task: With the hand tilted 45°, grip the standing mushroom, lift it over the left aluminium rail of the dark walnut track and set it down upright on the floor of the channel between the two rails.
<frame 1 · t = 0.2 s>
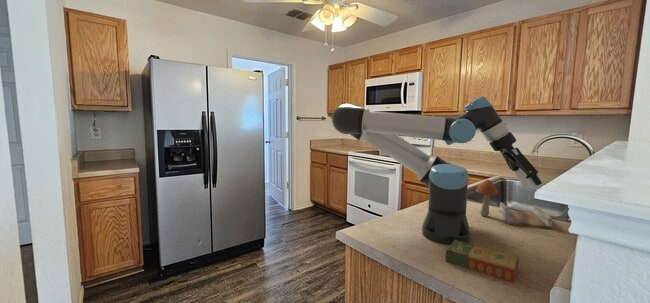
hand: (535, 189, 96), 15 cm above the worktop, tool tilted 35°, fingers open, 13 cm apart
track: (523, 219, 110), on the worktop
carton: (480, 267, 76), on the worktop
mushroom: (485, 216, 115), on the worktop
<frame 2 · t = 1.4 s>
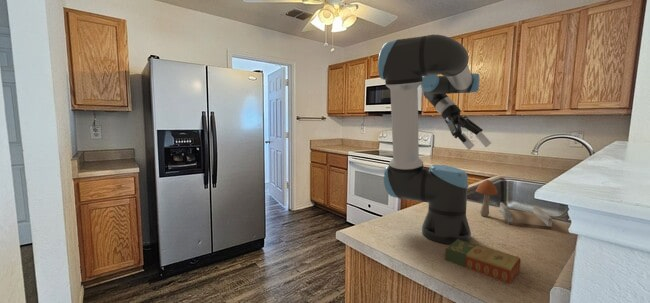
hand: (480, 146, 115), 28 cm above the worktop, tool tilted 45°, fingers open, 13 cm apart
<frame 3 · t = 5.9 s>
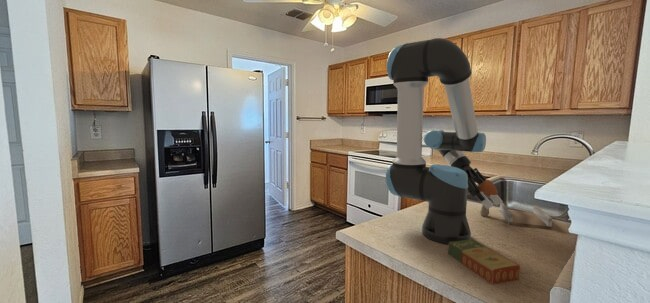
hand: (495, 205, 111), 5 cm above the worktop, tool tilted 45°, fingers closed on mushroom, 8 cm apart
mushroom: (485, 216, 115), on the worktop, touching gripper
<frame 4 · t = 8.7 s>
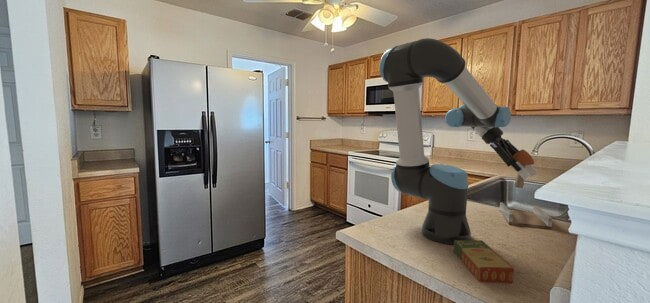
hand: (531, 175, 107), 18 cm above the worktop, tool tilted 45°, fingers closed on mushroom, 8 cm apart
mushroom: (519, 187, 110), point 12 cm above the worktop, touching gripper
when the fingers open (8 cm above the worktop, at t = 11.7 s): mushroom drops 1 cm, resting on track.
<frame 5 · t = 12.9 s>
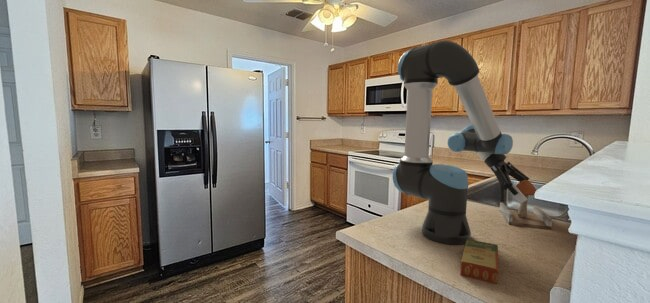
hand: (530, 198, 108), 9 cm above the worktop, tool tilted 45°, fingers open, 13 cm apart
mushroom: (522, 217, 110), point 1 cm above the worktop, touching track
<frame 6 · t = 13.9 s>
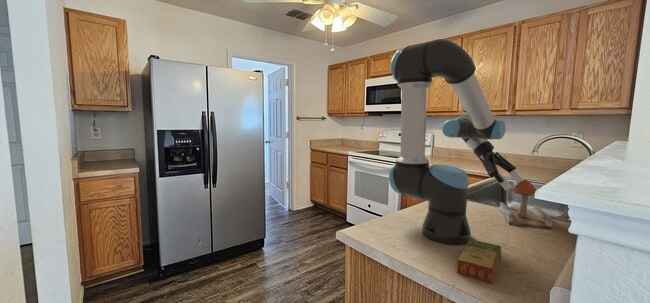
hand: (516, 186, 112), 12 cm above the worktop, tool tilted 45°, fingers open, 13 cm apart
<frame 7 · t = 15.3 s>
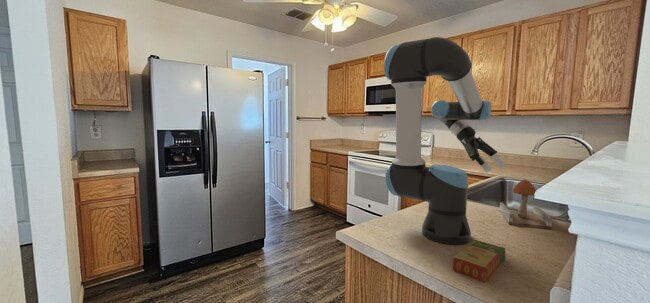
hand: (496, 168, 116), 19 cm above the worktop, tool tilted 45°, fingers open, 13 cm apart
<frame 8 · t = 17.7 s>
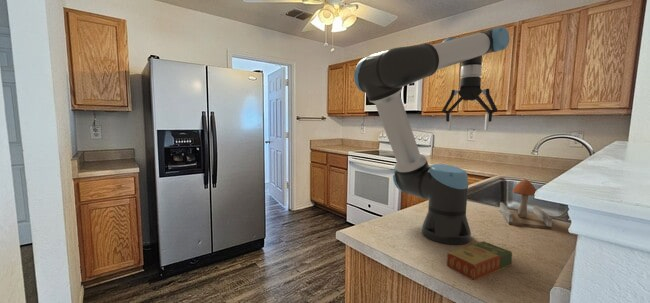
hand: (467, 129, 116), 35 cm above the worktop, tool pointing down, fingers open, 13 cm apart
at the end: mushroom inside the target area on the track (0.2 cm from its centre), point 0.8 cm above the track's base; mushroom tilted 1°; the gripper is holding nothing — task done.
